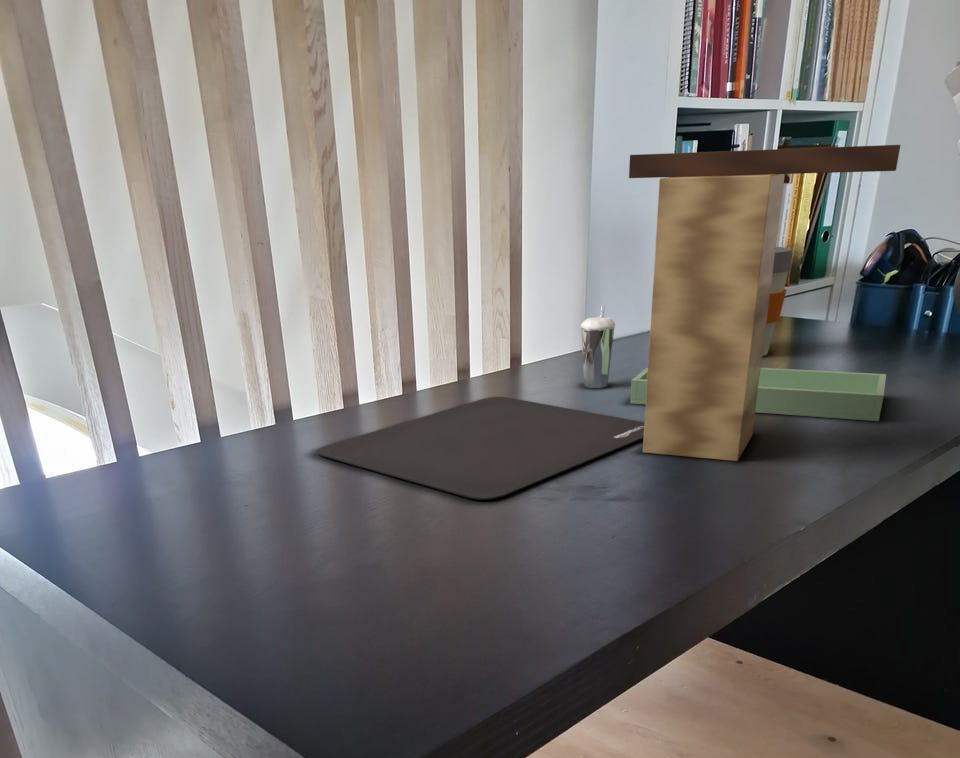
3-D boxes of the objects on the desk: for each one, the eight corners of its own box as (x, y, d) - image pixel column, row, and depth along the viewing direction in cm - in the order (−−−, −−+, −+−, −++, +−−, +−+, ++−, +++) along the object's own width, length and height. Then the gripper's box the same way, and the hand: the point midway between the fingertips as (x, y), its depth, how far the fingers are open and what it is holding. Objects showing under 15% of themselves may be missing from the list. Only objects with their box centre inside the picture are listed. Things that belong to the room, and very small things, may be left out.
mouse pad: (487, 503, 79) (487, 501, 79) (308, 452, 95) (308, 450, 95) (668, 428, 99) (668, 426, 99) (495, 396, 115) (495, 395, 115)
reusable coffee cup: (685, 356, 136) (694, 252, 128) (715, 342, 144) (725, 245, 137) (764, 363, 129) (778, 254, 122) (790, 348, 138) (804, 246, 131)
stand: (752, 435, 96) (785, 172, 84) (737, 461, 88) (771, 175, 76) (664, 428, 100) (682, 175, 87) (642, 452, 92) (659, 178, 79)
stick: (896, 170, 77) (900, 144, 76) (895, 170, 75) (900, 144, 74) (633, 177, 86) (635, 154, 85) (628, 178, 84) (629, 154, 83)
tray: (881, 398, 109) (886, 374, 107) (878, 421, 100) (883, 395, 98) (652, 384, 120) (653, 361, 118) (630, 403, 111) (631, 380, 109)
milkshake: (616, 381, 122) (619, 306, 117) (608, 390, 117) (611, 313, 112) (584, 380, 123) (586, 306, 118) (576, 388, 119) (577, 312, 114)
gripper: (1076, 150, 82) (1005, 20, 80) (1073, 200, 69) (988, 45, 66) (1006, 195, 87) (937, 74, 84) (991, 250, 73) (907, 107, 70)
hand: (959, 61), depth 75 cm, fingers open, 8 cm apart
